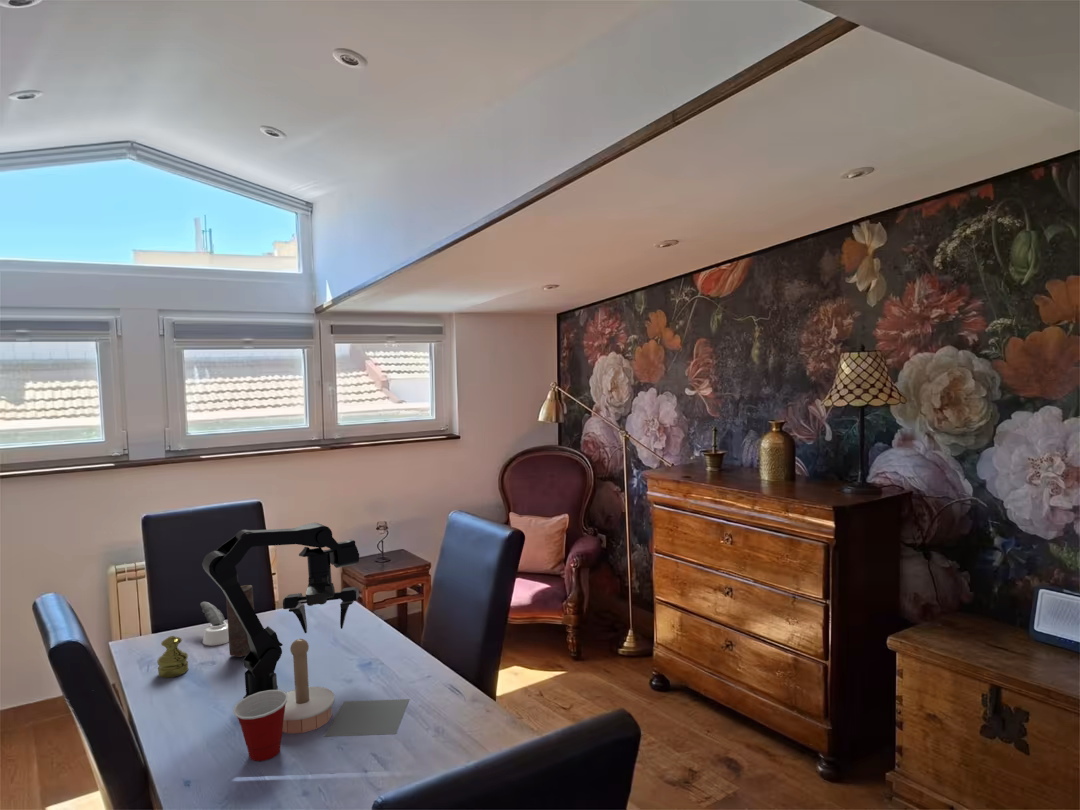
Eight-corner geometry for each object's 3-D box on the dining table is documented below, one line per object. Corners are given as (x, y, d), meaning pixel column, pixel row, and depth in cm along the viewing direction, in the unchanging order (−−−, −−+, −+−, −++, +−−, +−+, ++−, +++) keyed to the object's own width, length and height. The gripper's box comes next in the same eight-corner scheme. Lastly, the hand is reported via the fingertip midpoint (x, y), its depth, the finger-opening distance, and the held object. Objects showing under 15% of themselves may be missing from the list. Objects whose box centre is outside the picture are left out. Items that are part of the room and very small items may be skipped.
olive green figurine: (167, 667, 194) (165, 632, 194) (194, 666, 194) (191, 631, 194) (152, 678, 187) (149, 642, 186) (179, 678, 187) (177, 642, 186)
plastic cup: (226, 759, 146) (223, 704, 145) (274, 737, 154) (271, 684, 154) (252, 777, 139) (248, 719, 138) (301, 753, 147) (297, 698, 147)
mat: (323, 739, 153) (323, 736, 153) (343, 703, 169) (343, 701, 169) (396, 736, 153) (396, 733, 153) (409, 701, 169) (409, 699, 169)
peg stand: (257, 716, 156) (252, 649, 155) (296, 688, 169) (292, 626, 168) (310, 723, 152) (306, 654, 151) (346, 694, 165) (342, 630, 164)
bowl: (268, 736, 155) (267, 719, 155) (287, 710, 167) (286, 693, 166) (321, 734, 155) (320, 717, 155) (337, 708, 167) (336, 691, 167)
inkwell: (210, 648, 207) (208, 615, 206) (184, 635, 218) (182, 603, 218) (240, 638, 214) (238, 606, 213) (214, 625, 225) (212, 595, 225)
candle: (246, 661, 196) (242, 591, 195) (223, 660, 198) (219, 591, 197) (262, 650, 204) (258, 583, 203) (240, 649, 205) (236, 582, 204)
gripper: (275, 580, 175) (279, 643, 174) (351, 572, 178) (355, 634, 177) (285, 573, 186) (290, 632, 185) (357, 565, 189) (361, 623, 188)
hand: (323, 630), depth 183 cm, fingers open, 9 cm apart
